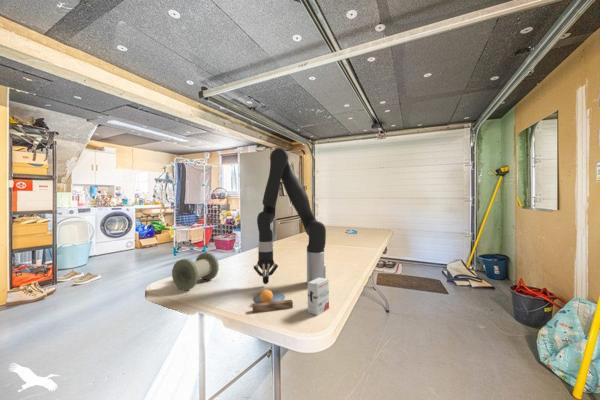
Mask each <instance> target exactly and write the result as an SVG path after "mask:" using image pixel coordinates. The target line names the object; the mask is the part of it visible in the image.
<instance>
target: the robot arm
mask: <svg viewBox="0 0 600 400" xmlns="http://www.w3.org/2000/svg"><path fill="white" fill-rule="evenodd" d="M269 159H270V167H269V173H268V178H267V182H266V186H265V189H264V193H263V197H262V205H263V208H262V209H263V210H262V211H261V212H259V213H258V215H257V217H256V222H257V229H258V245H257V246H258V248H257V249H258V252H257V253H258V257H257V258H258V259H257V262H256V264H255V265H253V270H254V271H255V273H257V274H258V275H259V277H262V283H263V284H264V285H268V283H270V281H269V279H270V276H273V274H274V273H275V272H276V270H277V268H278V267H279V265H278V264H277V263H275V260H274V242H273V241H274V236H273V234H274V233H273V231H272V229H271V227H272V226H271V224H272V223H273V222H274V220H275V217H276V205H277V202H278V197H279V192H280V186H281V182H282V185H283V187H284V191H285V192H286V194H287V196H288V199H289V201H290V202H291V204H292V206H293V208H294V209H295V211H296V213H297V214H298V216H299V218H300V221H301V223H302V225H303V229H304V231H305V233H306V235H307V236H308V244H307V245H306V285H308V282H310V281H312V280H315V279H317V278H319V277H320V278H325V279H327V276H326V272H327V271H326V270H327V269H326V267H327V266H326V265H325V248H326V241H327V240H326V239H327V237H326V236H327V233H326V232H327V231H326V230H327V229H326V227H325V226H326V225H325V224H324V223H322V222H321V221H318V220H317V219H316V217H315V214H314V213H313V212H312V208H311V205H310V200H309V196H308V194H307V192H306V190H305V187H304V186H303V184H302V183H301V182H300V179H299V178H298V177H297V175H296V174H295V173H294V171H293V169H292V167H291V165H290V161H289V154H288V152H287V151H286V150H285V149H284V148H275V149H273V150H272V152H271V153H270V156H269ZM260 269H261V270H262V271H260Z"/></svg>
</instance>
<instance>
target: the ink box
mask: <svg viewBox="0 0 600 400" xmlns="http://www.w3.org/2000/svg"><path fill="white" fill-rule="evenodd" d="M329 281H330V280H329V279H328V278H326V279H325V278H320V277H319V278H317V279H315V280H312V281H310V282H308V284H307V312H308V313H310V314H312V315H315V316H319V315H321V314H322V313H324V312H325V311H327V310H328V309H329V308H330V295H329V294H330V289H329V287H330V285H329ZM326 309H327V310H326ZM323 311H324V312H323ZM320 313H321V314H320Z"/></svg>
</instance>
